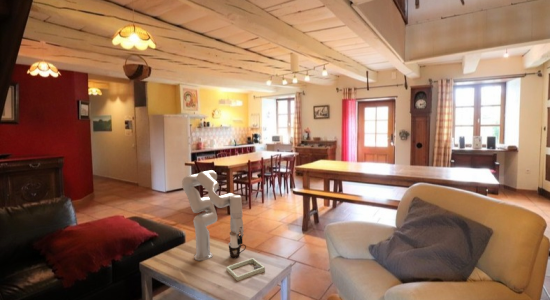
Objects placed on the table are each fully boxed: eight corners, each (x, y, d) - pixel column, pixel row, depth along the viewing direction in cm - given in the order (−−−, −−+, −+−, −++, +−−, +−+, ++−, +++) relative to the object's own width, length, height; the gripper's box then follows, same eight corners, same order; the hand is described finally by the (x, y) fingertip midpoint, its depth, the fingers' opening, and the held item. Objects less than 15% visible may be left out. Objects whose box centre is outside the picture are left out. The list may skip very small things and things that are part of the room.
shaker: (229, 246, 179) (228, 232, 178) (236, 243, 182) (236, 230, 181) (232, 248, 174) (231, 234, 173) (240, 246, 177) (239, 232, 176)
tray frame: (226, 271, 182) (226, 266, 182) (253, 261, 194) (253, 257, 193) (237, 281, 170) (237, 277, 170) (265, 271, 182) (264, 267, 181)
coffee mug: (226, 259, 198) (226, 245, 197) (231, 253, 206) (231, 240, 205) (242, 261, 195) (242, 247, 194) (246, 255, 203) (246, 242, 202)
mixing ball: (253, 270, 183) (252, 265, 182) (257, 269, 185) (257, 263, 184) (255, 273, 180) (255, 267, 179) (260, 271, 182) (260, 266, 181)
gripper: (225, 213, 182) (227, 240, 184) (237, 219, 168) (238, 248, 170) (235, 210, 187) (237, 237, 188) (248, 216, 173) (249, 245, 174)
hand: (238, 242), depth 179 cm, fingers closed on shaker, 4 cm apart
